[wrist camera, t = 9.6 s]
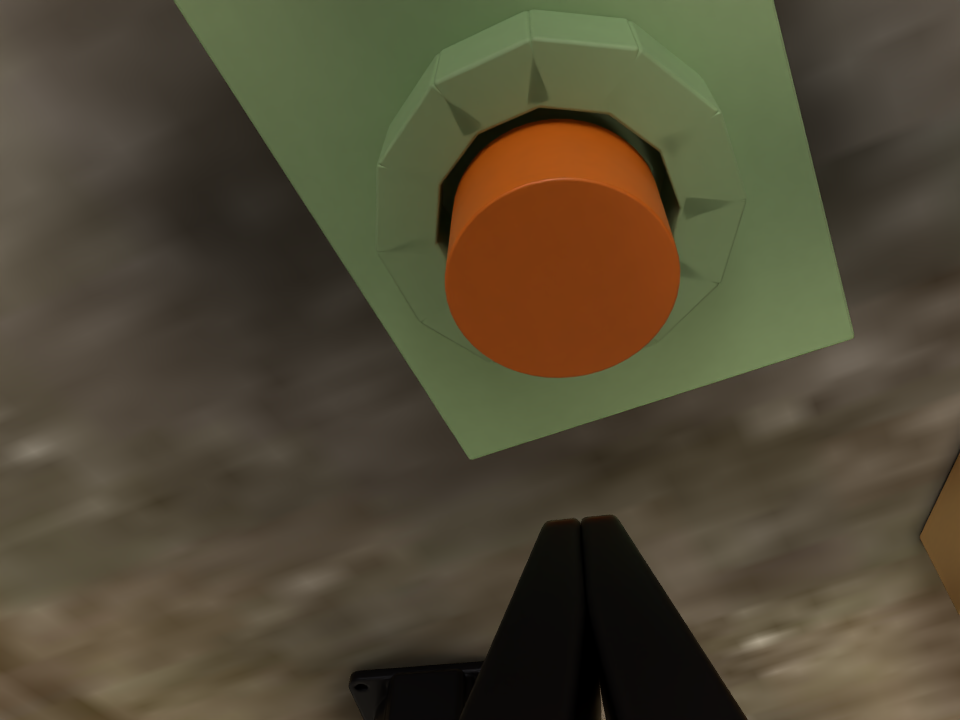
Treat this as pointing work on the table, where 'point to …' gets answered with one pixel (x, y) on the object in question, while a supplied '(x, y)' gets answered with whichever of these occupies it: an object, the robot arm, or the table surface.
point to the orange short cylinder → (560, 251)
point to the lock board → (946, 535)
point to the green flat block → (524, 99)
